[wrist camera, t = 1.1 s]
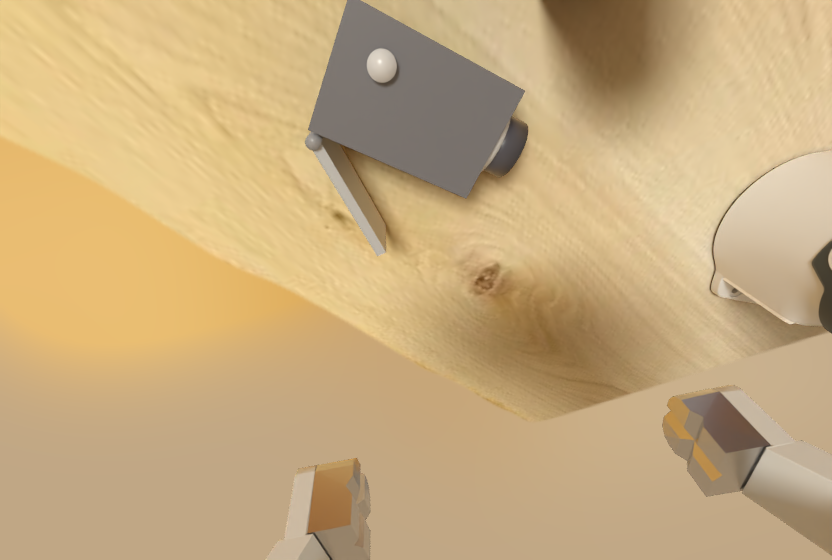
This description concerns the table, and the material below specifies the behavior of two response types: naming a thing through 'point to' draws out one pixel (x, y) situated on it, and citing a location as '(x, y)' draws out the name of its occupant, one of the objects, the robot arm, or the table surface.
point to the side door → (350, 189)
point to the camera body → (416, 103)
